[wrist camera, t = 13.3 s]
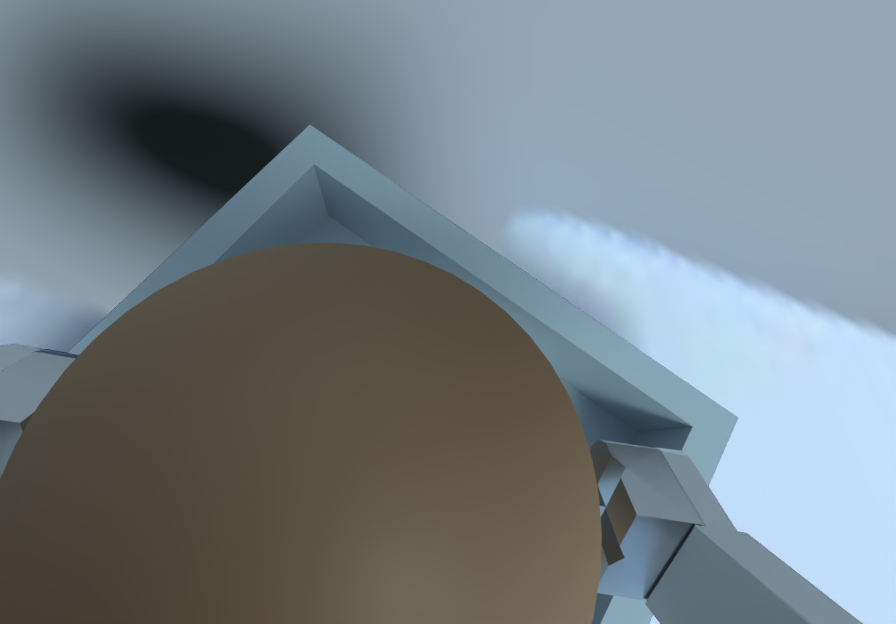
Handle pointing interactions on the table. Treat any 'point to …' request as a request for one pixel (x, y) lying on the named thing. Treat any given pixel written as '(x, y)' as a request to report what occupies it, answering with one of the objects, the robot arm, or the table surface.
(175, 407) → the dowel
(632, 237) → the table surface
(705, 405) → the tray
